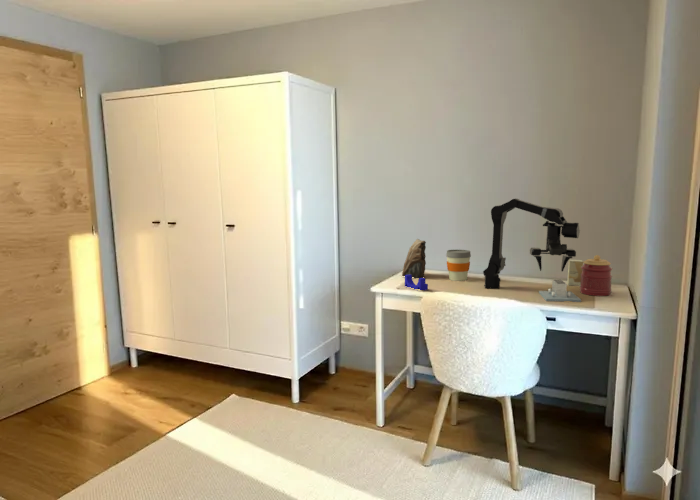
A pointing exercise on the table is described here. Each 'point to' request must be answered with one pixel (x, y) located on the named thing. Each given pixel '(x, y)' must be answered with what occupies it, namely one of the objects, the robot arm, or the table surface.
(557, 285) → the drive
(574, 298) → the pin tray
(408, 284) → the cable clip
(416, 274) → the brown tall pointed piece
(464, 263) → the reusable coffee cup
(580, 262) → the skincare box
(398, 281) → the table surface
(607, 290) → the canister
